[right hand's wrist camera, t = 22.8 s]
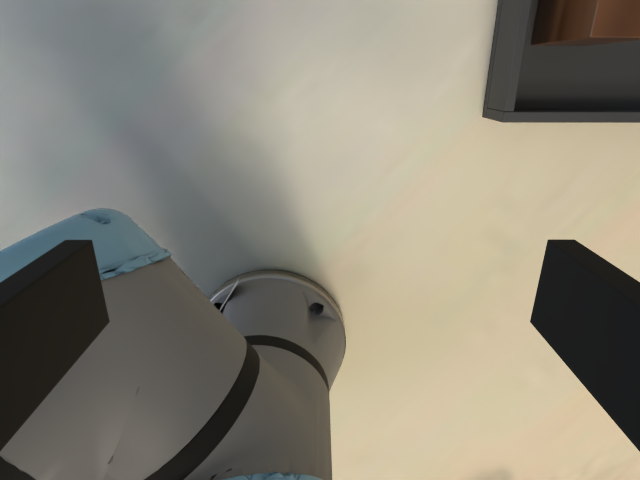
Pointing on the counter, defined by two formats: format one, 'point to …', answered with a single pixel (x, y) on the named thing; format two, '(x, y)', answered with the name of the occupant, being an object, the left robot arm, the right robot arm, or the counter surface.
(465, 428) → the counter surface
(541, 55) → the tray
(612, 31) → the block
